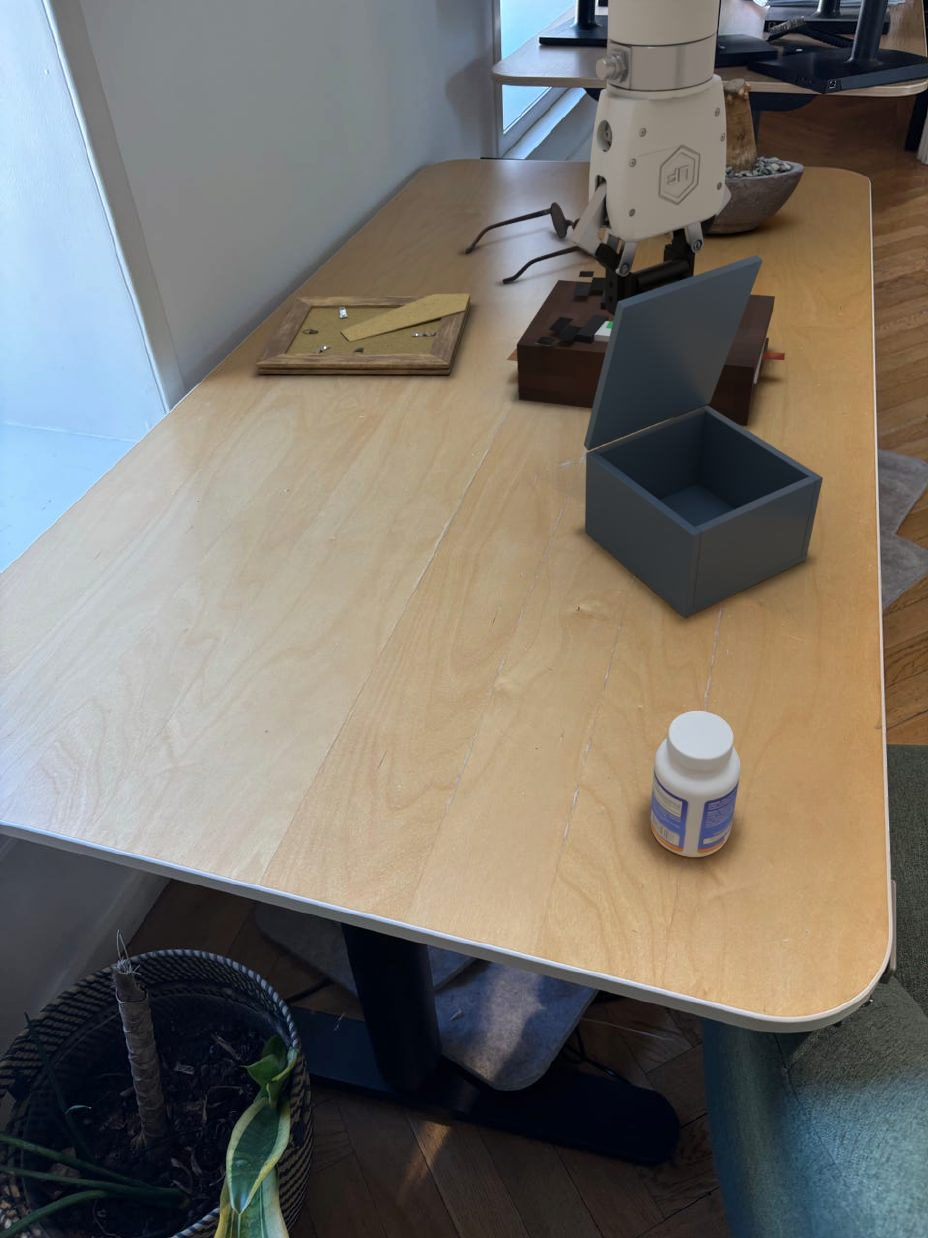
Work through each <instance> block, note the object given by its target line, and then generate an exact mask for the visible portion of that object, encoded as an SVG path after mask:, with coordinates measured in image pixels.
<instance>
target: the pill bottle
mask: <svg viewBox="0 0 928 1238" xmlns="http://www.w3.org/2000/svg"><path fill="white" fill-rule="evenodd" d="M734 738H735V737H734V732H733V730H732V728H731V726H730V724H729V723H728V722H727V721H725V719H724V718H722V717H721V716H719V715H717V714H715V713H712V712H709V711H704V710H692V711H687V712H683V713H681V714H679V715H678V716H677V717H675V718H674V719H673V721H672V722H671V723H670V724H669V727H668V731H667V737H666V738H664V740H663V741H662V742H661V743H660V744H659V746H658V748H657V750H656V752H655V755H654V756H655V757H654V761H653V763H654V764H653V776H652V788H651V800H650V801H651V803H650V815H649V816H650V817H649V819H650V827H651V832H652V834H653V836H654V837H655V839H656V841H658V843H659V844H661V846H663V847H664V848H665V849H667V850H669V851H670V852H672V853H674V854H677V855H680V856H683V857H689V858H702V857H706V856H710V855H712V854H714V853H716V852H717V851H719V850H720V849H721V848H722V847H723V846H724V845H725V844H726V842H727V841H728V840H729V836H730V834H731V829H732V825H733V819H734V813H735V807H736V800H737V796H738V789H739V783H740V779H741V771H742V770H741V765H742V764H741V760H740V757H739V754H738V752H737V750H736V749H735V747H734V741H735V739H734Z"/></svg>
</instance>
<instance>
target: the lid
mask: <svg viewBox="0 0 928 1238" xmlns="http://www.w3.org/2000/svg"><path fill="white" fill-rule="evenodd" d="M763 261H764V260H763V259H762V258H761V257H760V256H759V255H758V254H755V255H751V256H749V257H745V258H743V259H740V260H736V261H733V262H731V263H728V264H725V265H722V266H720V267H716V268H713V269H710V270H707V271H703V272H702V273H698V274H696V275H694V276H693V275H692V274H691V273H689V265H688V262H687V261H686V259H685V258H683V257H678V258H675V259H672V260H669V261H666V262H663V261H662V262H659V263H656V264H653V265H651V266H648V267H644V268H641V269H639V270H635V271H633V272H632V271H631V272H632V273H634V274H636V276H637V289H636V296H633V297H630V298H627V299H624V300H621V301H618V304H617V308H616V312H615V316H614V321H613V325H612V329H611V333H610V337H609V341H608V346H607V350H606V354H605V358H604V362H603V366H602V371H601V375H600V379H599V383H598V387H597V391H596V396H595V400H594V404H593V408H591V413H590V417H589V421H588V425H587V430H586V434H585V437H584V442H583V447H585V449H586V450H587V452H590V451H592V450H594V449H597V448H599V447H602V446H604V445H607V444H609V443H612V442H614V441H617V440H620V439H622V438H625V437H627V436H630V435H632V434H635V433H637V432H640V431H642V430H645V429H647V428H650V427H653V426H655V425H658V424H660V423H663V422H665V421H668V420H670V419H673V418H675V417H676V416H678V415H681V414H683V413H686V412H688V411H691V410H693V409H696V408H698V407H701V406H704V405H706V404H709V403H710V401H711V398H712V396H713V393H714V390H715V388H716V385H717V382H718V380H719V377H720V374H721V372H722V369H723V366H724V364H725V361H726V358H727V355H728V353H729V350H730V347H731V345H732V342H733V339H734V337H735V334H736V331H737V329H738V326H739V323H740V320H741V318H742V315H743V312H744V310H745V307H746V304H747V302H748V299H749V296H750V294H751V293H752V290H753V288H754V285H755V283H756V280H757V277H758V274H759V272H760V269H761V267H762V264H763ZM751 295H752V294H751Z"/></svg>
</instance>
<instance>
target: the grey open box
mask: <svg viewBox="0 0 928 1238" xmlns="http://www.w3.org/2000/svg"><path fill="white" fill-rule="evenodd" d="M823 479H824V478H823V476H821V475H820V474H818V473H816V472H814V471H813V470H812V469H810V468H808V467H807V466H806V465H803V463H800V462H799V461H797V460H796V459H794V458H792V457H791V456H789V455H788V454H786V453H785V452H783V451H781V450H779V449H778V448H776V447H775V446H773V445H772V444H770V443H768V442H766V441H765V440H763V439H762V438H760V437H759V436H757V435H755V434H754V433H752V432H751V431H749V430H748V429H746V428H744V427H743V426H742V425H739V424H736V423H735V422H733V421H731V420H730V419H728V418H727V417H725V416H723V415H722V414H720V413H719V412H717V411H715V410H714V409H712V408H711V407H709V406H707V405H706V406H704V407H701V408H698V409H696V410H693V411H691V412H688V413H686V414H683V415H680V416H678V417H673V418H671V419H668V420H665V421H663V422H660V423H658V424H655V425H653V426H650V427H648V428H645V429H643V430H640V431H637V432H635V433H632V434H630V435H627V436H625V437H622V438H620V439H617V440H615V441H612V442H610V443H607V444H604V445H602V446H599V447H597V448H594V449H592V450H589V451H587V452H586V453H585V508H584V509H585V511H584V512H585V513H584V514H585V515H584V517H585V518H584V521H585V522H584V524H585V525H584V533H585V534H586V535H588V537H590V538H591V539H592V540H593V541H594V542H595V543H596V544H598V546H601V548H602V549H604V551H606V552H607V553H608V554H610V555H611V556H612V557H613V558H614V559H615V560H616V561H618V562H619V563H620V564H621V565H622V566H623V567H625V568H626V569H627V570H628V571H629V572H631V573H632V574H633V576H635V577H636V578H637V579H639V580H640V581H641V582H642V583H643V584H644V585H646V586H647V587H648V589H650V590H651V591H652V592H654V593H655V594H656V595H657V596H659V598H660V599H662V600H663V601H664V602H665V603H667V604H668V605H669V606H670V607H671V608H672V609H673V610H675V611H676V612H677V613H678V614H679V615H681V616H682V617H683V619H686V618H688V617H691V616H693V615H695V614H698V613H699V612H701V611H703V610H705V609H707V608H710V607H712V606H713V605H715V604H717V603H719V602H722V601H724V600H727V599H728V598H730V597H732V596H734V595H737V594H739V593H741V592H743V591H745V590H747V589H749V588H751V587H753V586H755V585H758V584H759V583H761V582H763V581H766V580H767V579H770V578H772V577H774V576H775V575H779V574H781V573H783V572H784V571H786V570H789V569H790V568H793V567H795V566H797V565H799V564H801V563H803V562H805V561H807V559H808V553H809V547H810V542H811V539H812V538H811V537H812V532H813V529H814V523H815V520H816V519H815V518H816V514H817V508H818V504H819V499H820V494H821V489H822V484H823Z"/></svg>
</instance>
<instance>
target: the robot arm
mask: <svg viewBox="0 0 928 1238" xmlns="http://www.w3.org/2000/svg"><path fill="white" fill-rule="evenodd" d="M719 11H720V0H607V42H606V56H605V57H603V58H600V59H597V61H596V63H595V75H596V77H597V79H598V80H599V81H605V80H606V88H603V89H601V90H600V94H599V98H598V103H597V108H596V113H595V118H594V125H593V133H592V140H591V151H590V162H589V173H588V174H589V177H588V204H587V206H586V208H585V210H584V212H583V213H582V215H581V216H580V217H579V218H580V220H579V222H578V224H577V226H576V227H575V229H574V231H572V232H571V235H570V241H571V242H572V243H573V244H574V246H576V245H577V246H578V247H580V248H581V249H583V250H584V251H586V252H588V253H589V254H588V255H590V256H591V258H593V259H594V260H595V261H596V262H598V264H599V266H600V267H602V268H604V270H605V276H604V277H605V304H606V310H607V311H608V313H610V314H612V315H614V316H615V312H616V308H617V304H618V301H621V300H624V299H627V298H630V297H633V296H636V289H637V276H636V274H634V273H632V267H633V263H634V260H635V255H636V252H637V249H638V245H639V242H641V241H645V240H649V239H652V238H655V237H659V236H662V235H665V234H667V233H668V234H669V240H670V243H667V244H665V245H664V249H663V259H662V263H663V262H666V261H669V260H672V259H675V258H678V257H683V258H685V259H686V261H687V262H688V265H689V273H691V274H692V275H693V276H695V275H694V274H695V262H696V254H697V253H699V252H700V251H702V249H703V247H704V238H705V236H706V235H707V234H708V233H707V232H708V231H709V229H710V228H711V226H712V225H713V223H714V221H715V216H718V214H719V213H720V212H721V211H722V209H723V208H724V207H725V205H726V204H727V203H728V202H729V200H730V198H731V192H730V191H729V189H728V187H727V186H726V184H725V171H726V112H725V101H724V92H723V87H724V85H723V81H722V77H721V76H720V75H718V74H715V73H714V71H715V59H716V48H717V47H716V46H717V37H718V35H717V34H718V25H719V24H718V23H719ZM601 229H605V231H604V236H603V240H602V239H601V238H600V237H599V233H600V230H601ZM599 238H600V239H601V240H600V239H599ZM620 241H621V243H620ZM619 245H620V247H619ZM618 247H619V251H618ZM583 250H582V251H583ZM584 251H583V252H584Z"/></svg>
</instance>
